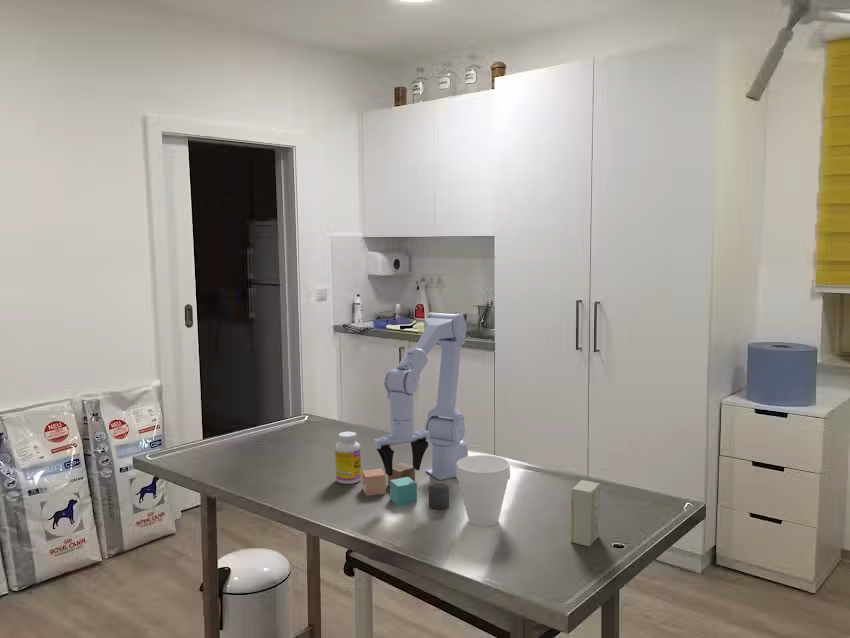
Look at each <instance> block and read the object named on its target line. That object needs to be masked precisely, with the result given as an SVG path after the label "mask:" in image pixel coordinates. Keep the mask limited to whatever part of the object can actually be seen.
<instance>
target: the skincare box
mask: <svg viewBox="0 0 850 638" xmlns="http://www.w3.org/2000/svg"><path fill="white" fill-rule="evenodd" d="M570 500H571V503H570V506H571V508H570V509H571V510H570V515H571V516H570V543H573V544H577V545H581V546H584V547H585V546H586V547H590V546H592V544H593V543H594V542H595V541H596V540H598V538H599V536H600V515H601V514H600V507H601V505H600V504H601V482H597V481H596V482H595V481H590V480H585V479H581V480H579V481H578V482H577V483H576V484H575V485H574V486H573V487H572V488H571V499H570Z"/></svg>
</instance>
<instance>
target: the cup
mask: <svg viewBox="0 0 850 638" xmlns="http://www.w3.org/2000/svg"><path fill="white" fill-rule="evenodd" d="M456 465H457V470H456V477H455V478H456V479H457V480H458V482H459V489H460V492H461V496H462V500H463V503H464V508H465V511H466V516H467V520H468V523H469V524H470V525H472V526H476V527H478V528H479V527H482V528H488V527H493V526H496V525H497V524H498V523H499V520H500V517H501V516H500V515H501V512H502V508H503V502H504V498H505V494H506V491H507V487H508V486H507V485H508V482H509V480H510V479H511V466H510V465H511V463H510V461H509V460H507V459H505V458H503V457H501V456H500V457H499V456H497V455H496V456H495V455H489V454H486V455H485V454H480V455H478V454H477V455H469V456H468V457H464V458H462V459H460V460H459V461H457V463H456Z"/></svg>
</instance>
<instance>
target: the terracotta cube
mask: <svg viewBox="0 0 850 638" xmlns="http://www.w3.org/2000/svg"><path fill="white" fill-rule="evenodd" d="M361 480H362V481H361V484H362V486H361V487H362V490H363V492H364V494H365V496H368V497H369V496H376V495H385V494H386V493H387V492H386V490H387V489H386V488H387V486H386V485H387V483H386V473H385V472H384V471H383V470H382V468H375V469H367V470H366V469H364V470H361Z"/></svg>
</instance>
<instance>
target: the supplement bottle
mask: <svg viewBox="0 0 850 638" xmlns="http://www.w3.org/2000/svg"><path fill="white" fill-rule="evenodd" d="M356 440H357V432H354V431H342V432H340V433H338V441H339V442H337V443H336V445H335V448H334V449H335V450H334V451H335V480H336V482H337V483H338V484H344V485H353V484H356V483H358V482H360V481H361V480H362V464H361V462H362V461H361V460H362V459H361V444H360V443H359V442H357V441H356Z"/></svg>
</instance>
